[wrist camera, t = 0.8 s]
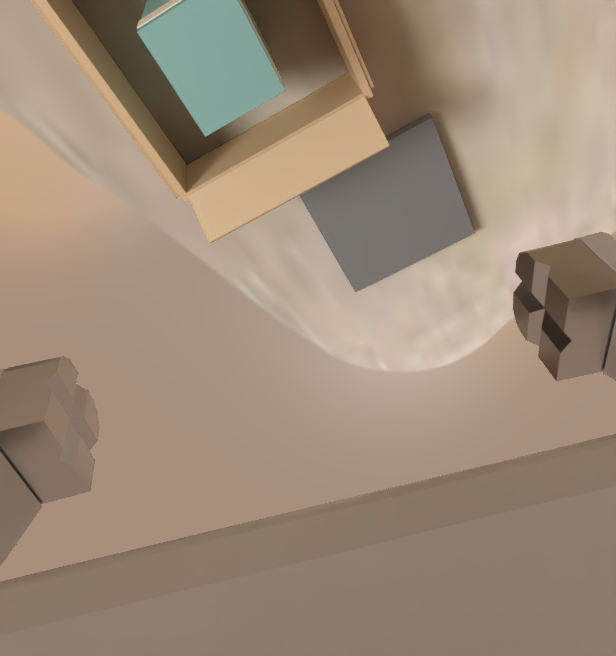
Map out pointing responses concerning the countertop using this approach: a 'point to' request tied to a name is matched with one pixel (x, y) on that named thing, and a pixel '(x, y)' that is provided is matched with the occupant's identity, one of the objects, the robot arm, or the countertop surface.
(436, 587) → the robot arm
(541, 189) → the countertop surface
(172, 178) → the carton
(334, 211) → the mat
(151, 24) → the tea box
